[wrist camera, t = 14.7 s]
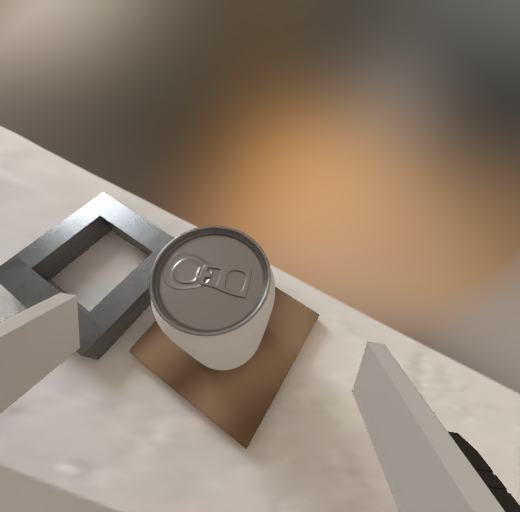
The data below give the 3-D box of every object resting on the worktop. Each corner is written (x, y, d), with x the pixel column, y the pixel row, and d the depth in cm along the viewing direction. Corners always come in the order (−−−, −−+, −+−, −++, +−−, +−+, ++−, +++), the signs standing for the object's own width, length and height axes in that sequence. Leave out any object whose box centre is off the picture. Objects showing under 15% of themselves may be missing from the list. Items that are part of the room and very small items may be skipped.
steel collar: (12, 285, 24) (-11, 273, 22) (113, 207, 29) (103, 191, 27) (98, 359, 21) (81, 355, 19) (192, 259, 26) (187, 247, 24)
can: (201, 290, 24) (169, 208, 13) (267, 304, 23) (288, 231, 13) (177, 362, 20) (111, 328, 10) (253, 378, 20) (267, 362, 10)
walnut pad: (133, 353, 22) (128, 351, 21) (218, 255, 27) (218, 250, 26) (246, 446, 19) (246, 448, 18) (316, 317, 24) (319, 314, 23)
